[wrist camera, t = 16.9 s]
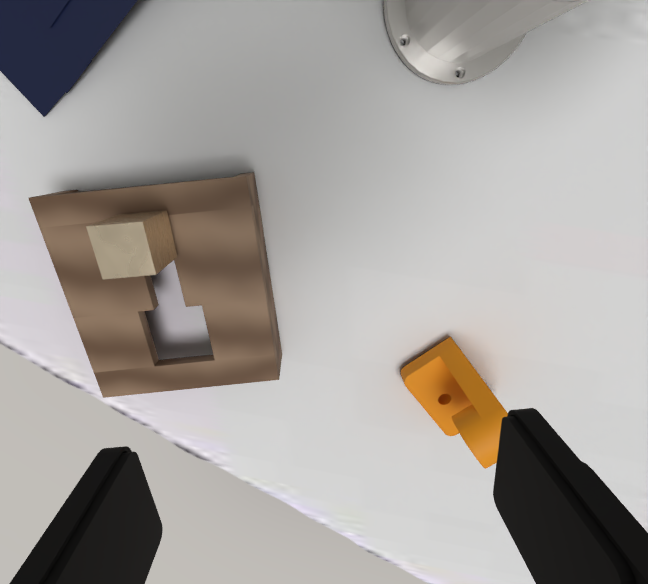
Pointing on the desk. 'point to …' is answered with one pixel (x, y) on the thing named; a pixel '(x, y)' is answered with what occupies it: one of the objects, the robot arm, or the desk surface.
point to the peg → (133, 244)
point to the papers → (53, 43)
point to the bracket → (457, 398)
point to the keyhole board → (194, 275)
